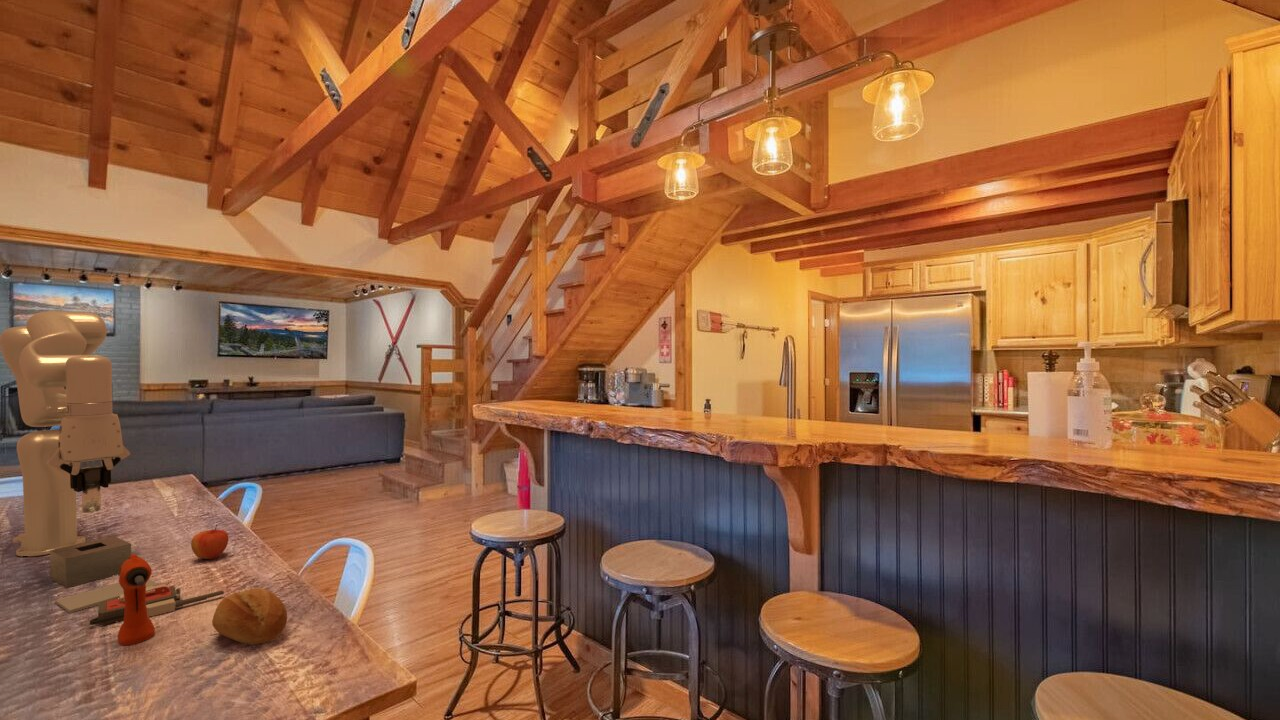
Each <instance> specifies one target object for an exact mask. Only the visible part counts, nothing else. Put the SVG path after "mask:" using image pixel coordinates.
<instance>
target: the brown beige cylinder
mask: <svg viewBox="0 0 1280 720" xmlns="http://www.w3.org/2000/svg"><path fill="white" fill-rule="evenodd" d="M79 471H80V474H81V475H82V491H81V501H82V502H81V507H82V508H81V509H82V513H84V514H85V513H87V514H89V513H96V512H99V511H101V510H102V507H101V506H102V505H101V503H102V501H101V496H102V495H101V486H100V485H102V484H103V472H102V465H94V466H86V467H80V469H79Z"/></svg>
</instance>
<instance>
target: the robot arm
mask: <svg viewBox="0 0 1280 720" xmlns="http://www.w3.org/2000/svg"><path fill="white" fill-rule="evenodd" d="M25 323H26V324H25V325H21V326H20V325H19V326H13V327H9V328H6V329H5V330H3V331H2V333H0V352H1V355H2V357H3V360H4V361H5V363H6V364H7V366H8V368H9V370H10V371H11V373H12V374H13V376H14V379H15V381H16V388H17V389H16V390H17V395H18V404H19V411H20V416H21V420H22V421H23V423H24V424H25V425H26V426H29V427H32V428H45V427H46V428H47V427H48V428H49V427H59V428H55V429H46V430H45V429H44V430H37V431H32V432H29V433H26V434H25V435H23V436H22V437H20V438H19V440H18V441H17V444H16V453H17V457H18V461H19V465H20V469H21V475H22V477H21V478H22V491H23V492H22V493H23V522H24V523H23V524H24V525H23V527H24V530H23V531H24V532H22V533H19V534H18V535H17V536H16V537H13V538H12V543H14V544H16V543H17V544H19V543H20V547H19V548H17V549H16V550H15V555H16V556H17V557H23V556H28V557H37V556H45V555H46V556H47V555H50V550H53V549H58V548H62V547H67V546H71V545H76V544H80V543H85V542H87V541H86V537H85V536H79V535H78V522H77V521H78V519H77V515H78V513H77V493H80V492H81V493H82V475H81V474H80V471H79V469H80V468H81V463H83V462H90V461H97V460H100V463H101V466H102V472H103V484H102V485H100V488H101V487H102V488H109V484H111V483H112V470H114V467H115V466H116V465H117V464H119V463H120V462H121V461H122V460H124V459H125V458H127V457H129V456H130V455H131V451H130V450H129V449H127V447H125V445H124V444H123V436H122V428H121V422H120V420H119V419H120V418H119V416H118V414H116V413H113V379H112V378H113V367H112V361H111V359H110V358H109V357H106V356H103V355H99V354H93V353H94V352H95V351H97V349H98V348H100V346H101V345H102V344H103V342H105V340H106V338H107V333H108V329H107V324H106V322H105V320H104V319H103V318H102V317H101V316H100V315H99V314H96V313H92V312H84V311H83V312H81V311H64V310H63V311H59V310H52V311H48V310H46V311H41V312H36V313H35V314H33V315H31V316H30V317H29V318H28V319H27V320H26V322H25Z"/></svg>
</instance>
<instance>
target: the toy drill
mask: <svg viewBox="0 0 1280 720" xmlns="http://www.w3.org/2000/svg"><path fill="white" fill-rule="evenodd" d="M152 573H153V571H152V567H151V565H150V564H149V563H148V562H147V561H146V559H144V558H142V557H139V556H138V555H137V553H131V555H130V558H129V559H127V560H126V561H125V562H124V563H123V564H122V566H121V568H120V574H118V577H119V578H118V583H119V584H120V585H121V587H122V588H123V590H124V600H125V612H124V620H123V621H122V622H123V623H122V624H121V625H120V627H119V629H118V630H119V631H118V633H117V640H118V641H117V642H118V644H119V645H121V646H130V645H134V644H135V643H136V644H138V643H142V642H144V640H145V641H147V640H149V639H151V638H152V637H154V635H155V632H156V630H155V629H156V628H155V626H154V623H153V621H152V620H151V619H150V617H148V615H147V608H146V601H145V597H146V583H147V581H148V580H149V579H150V578H151V576H152ZM136 644H135V645H136Z"/></svg>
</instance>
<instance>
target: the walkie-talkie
mask: <svg viewBox="0 0 1280 720" xmlns="http://www.w3.org/2000/svg"><path fill="white" fill-rule="evenodd" d="M158 584H159V585H155V586H150V587H146V597H145V601H146V608H147V615H148V618H150V617H149V616H152V617H155V616H154V615H156V616H159V614H160V615H163V614H162V613H164V614H167V613H166V612H168V613H172V612H171V611H173V612H176V608H181V607H183V606H184V605H185V606H187V605H189V604H194V603H197V602H202V601H206V600H207V599H211V598H213V597H218V596H222V595H224V594H225V592H224V590H218V591H214V592H210V593H206V594H203V595H198V596H195V597H194V596H193V597H190V598H186V599H180V598H181V589H180V588H175V585H173V586H169V585H168V584H167V583H158ZM179 599H180V600H179ZM97 610H98V611H97V614H98V616H97V617H95V618H92V619H90V620H89V625H90V626H93V625H103V626H106V625H105V624H107V625H110V624H109V623H111V624H113V622H115V623H117V622H116V621H119V622H122V621H121V620H123V621H124V612H125V600H124V594H122V595H120V598H119V599H115V600H110V601H106V602H102V603H99V605H98V609H97Z"/></svg>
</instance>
